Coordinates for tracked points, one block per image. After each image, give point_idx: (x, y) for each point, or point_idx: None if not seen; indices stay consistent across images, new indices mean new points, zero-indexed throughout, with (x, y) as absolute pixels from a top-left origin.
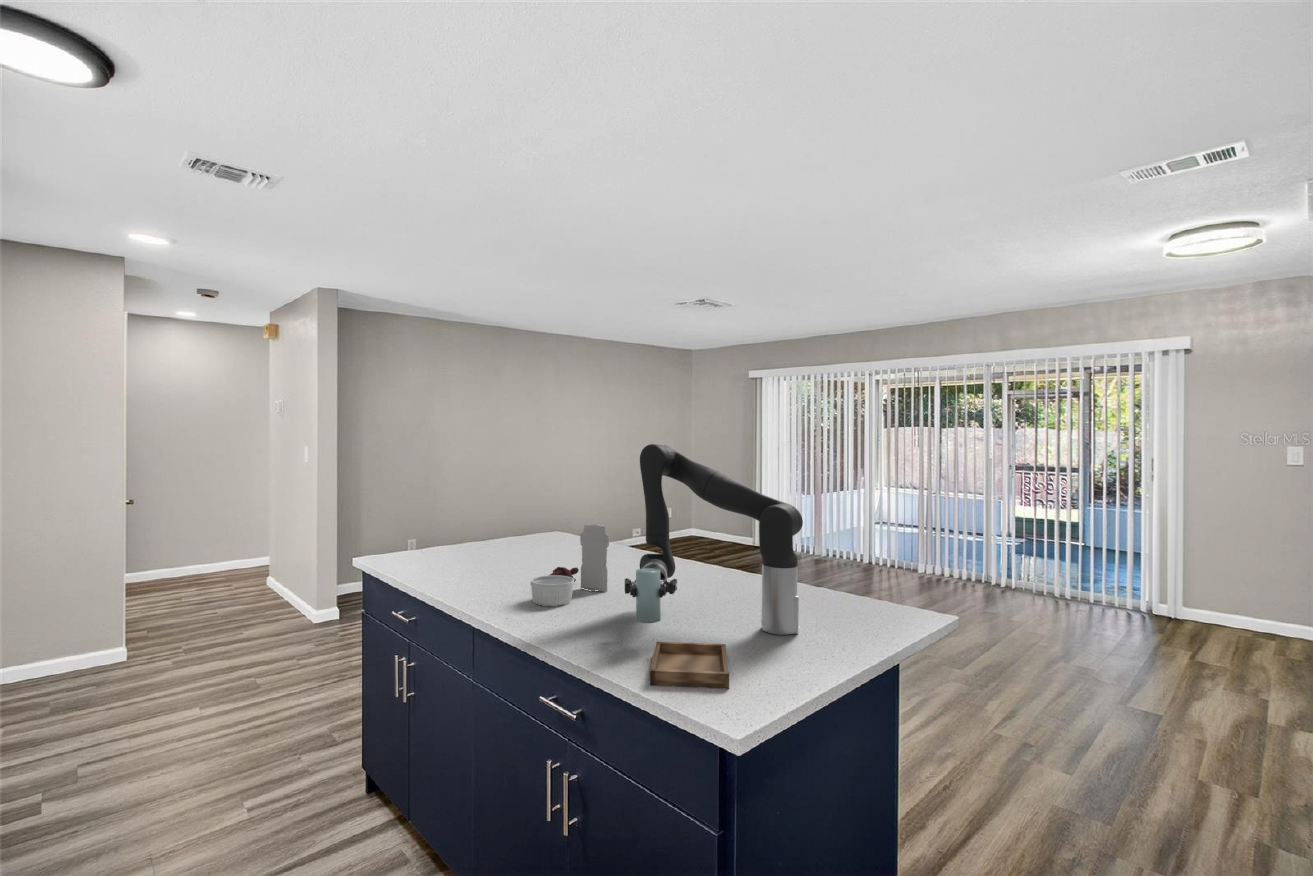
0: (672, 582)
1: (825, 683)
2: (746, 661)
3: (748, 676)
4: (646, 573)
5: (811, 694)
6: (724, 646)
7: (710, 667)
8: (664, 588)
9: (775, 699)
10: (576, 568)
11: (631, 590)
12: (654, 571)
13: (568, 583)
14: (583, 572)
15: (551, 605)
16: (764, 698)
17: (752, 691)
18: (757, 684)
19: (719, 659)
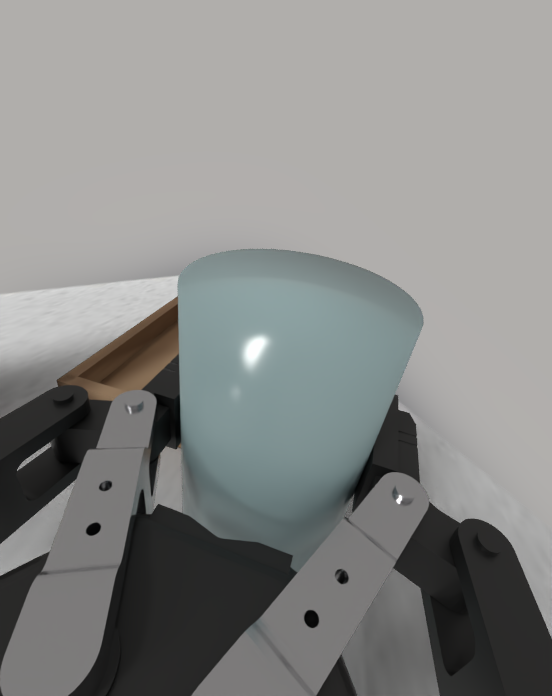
0: (8, 431)
1: (10, 297)
2: (39, 380)
3: (109, 335)
4: (326, 258)
5: (74, 287)
6: (76, 369)
7: (167, 352)
8: (170, 371)
9: (137, 291)
10: None
11: (401, 416)
12: (252, 263)
13: None
14: None
15: None
16: (149, 295)
17: (149, 307)
18: (121, 317)
19: (116, 373)
